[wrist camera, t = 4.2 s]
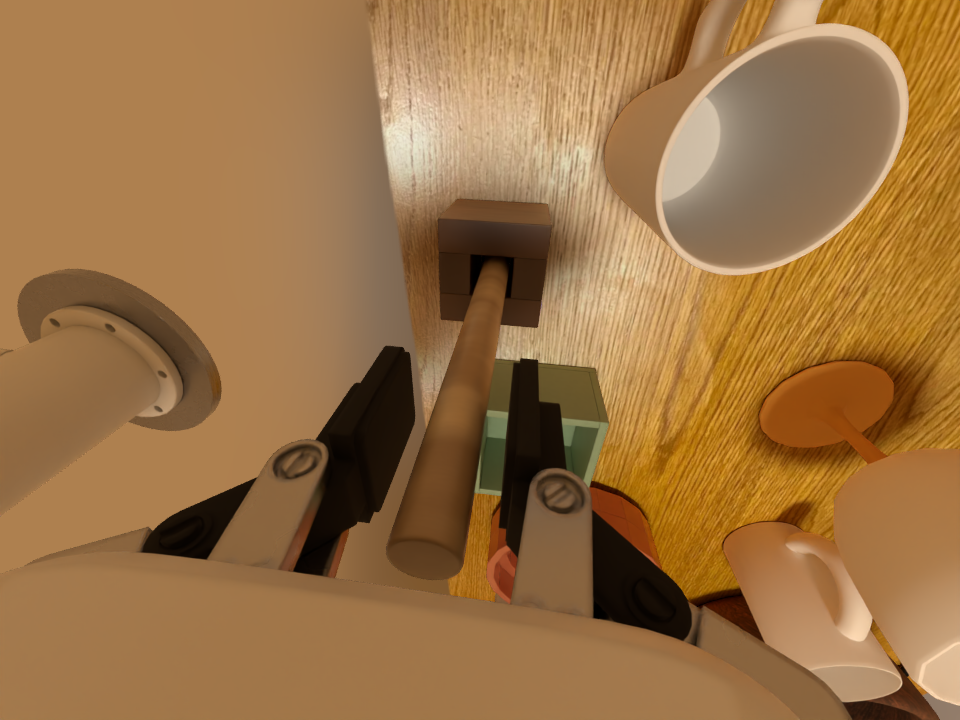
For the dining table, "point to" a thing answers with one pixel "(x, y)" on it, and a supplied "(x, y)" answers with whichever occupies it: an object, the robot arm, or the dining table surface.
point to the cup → (886, 515)
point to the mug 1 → (761, 139)
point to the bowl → (603, 503)
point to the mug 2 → (810, 608)
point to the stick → (452, 443)
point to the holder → (494, 233)
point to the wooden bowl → (891, 716)
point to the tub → (578, 414)
